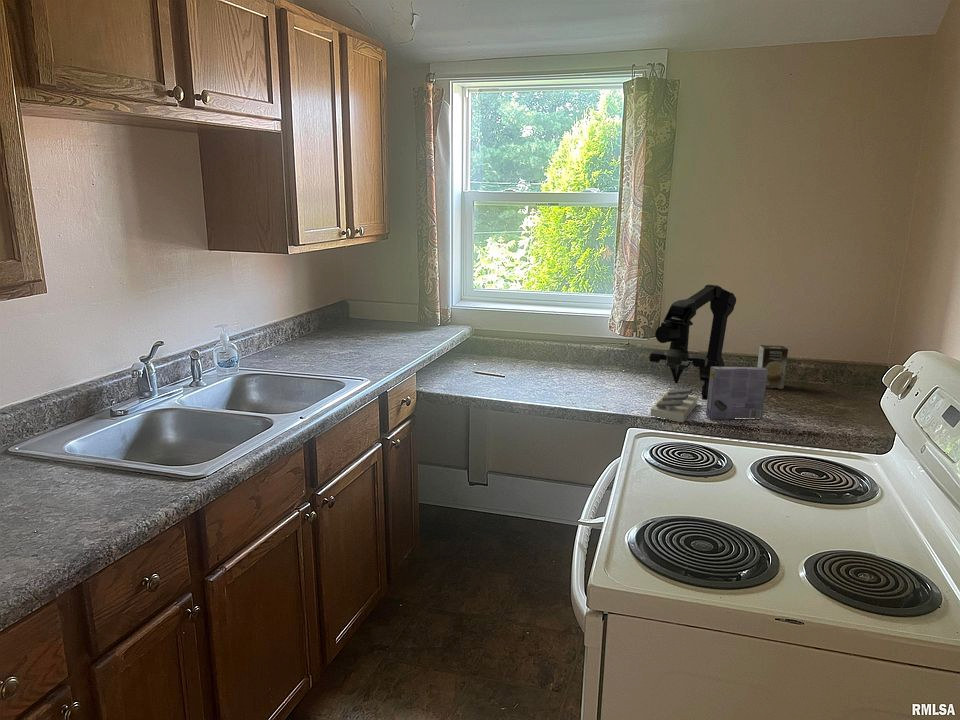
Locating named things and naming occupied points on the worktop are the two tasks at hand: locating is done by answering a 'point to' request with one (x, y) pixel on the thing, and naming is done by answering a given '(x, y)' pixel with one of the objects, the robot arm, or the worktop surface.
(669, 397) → the block
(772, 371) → the coffee box
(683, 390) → the block
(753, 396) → the cake pan box
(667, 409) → the switch panel
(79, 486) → the worktop surface
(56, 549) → the worktop surface
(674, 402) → the plate
